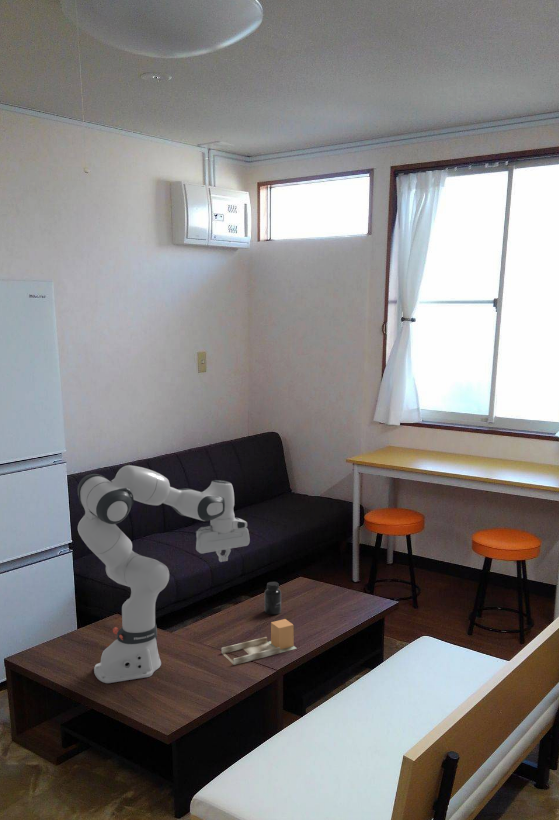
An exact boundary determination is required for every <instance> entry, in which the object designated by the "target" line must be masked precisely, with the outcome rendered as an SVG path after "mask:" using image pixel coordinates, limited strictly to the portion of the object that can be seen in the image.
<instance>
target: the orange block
mask: <svg viewBox="0 0 559 820" xmlns="http://www.w3.org/2000/svg"><path fill="white" fill-rule="evenodd" d="M294 626H295V625H294V624H293V623H292V622H290V621H289V620H287V619H286V618H283V619H279V620H276V621H271V622H270V641H271V644H273V645H274V646H275V647H276V648H277V647H280V650H281V649H284V648H288V647H292V646H295V645H294V644H295V643H294V642H295V640H294V639H295V637H294V632H295V631H294V630H295V629H294V628H295V627H294Z"/></svg>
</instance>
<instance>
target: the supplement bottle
mask: <svg viewBox="0 0 559 820" xmlns="http://www.w3.org/2000/svg"><path fill="white" fill-rule="evenodd" d="M281 612H282V590H281V589H280V584H279V583H278V582H277V581H269V582H267V583H266V589H265V590H264V613H265V614H267V615H269V616H270V615H271V616H274V615H276V616H277V615H279V614H281Z"/></svg>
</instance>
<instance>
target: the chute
mask: <svg viewBox="0 0 559 820" xmlns="http://www.w3.org/2000/svg"><path fill="white" fill-rule="evenodd" d="M297 649H298V648H297V647H296V646H295V645H294V646H292V647H288V648H284V649H281V650H280V647H277V648H276V647H275V646H274V645H273V644H271V640H269V641H268V637H267V636H264V637H259V638H255V639H252V640H248V641H244V642H239V643H237V644H236V643H235V644H232V645H227V646H223V647H221V655H223V656H224V657H225V658H226V659H227V660H228V661H229V662H230V663H231V664H232V665H233V666H236V665H240V664H244V663H247V662H251V661H254V660H259V659H263V658H266V657H270V656H271V657H272V656H274V655H277V654H278V655H279V654H281V653H285V652H290V651H292V650H297ZM240 650H243V651H244V652H246V653H247V654H245V655H242V656H238V657H235V658H233V659H232V658H230V656H228V655H227V654H229V653H231V652H235V651H240Z"/></svg>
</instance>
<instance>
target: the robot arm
mask: <svg viewBox="0 0 559 820" xmlns="http://www.w3.org/2000/svg"><path fill="white" fill-rule="evenodd" d="M77 496H78V500H79V505H80V509H81V510H82V511H84V514H83V516H82V518H81V519H80V520H79V522H78V523H77V524H78V525H77V531H78V535H79V536H80V538H81V540H82V541H83V542H84V544H85V545H86V547H87V548H88V549H89V550H90V551H91V552H92V553H93V554H94V555H95V556H96V557H97V558H98V559H99V560H100V561H101V562H102V563H103V564H104V565H105V572H106V575H107V577H108V578H110V579H111V580H112V581H113V582H115V583H117V584H118V585H122V586H126V587H128V588H130V597H129V598H127V599H126V601H124V602H123V604H122V606H121V617H122V619H121V621H122V623H121V624H122V626H121V627H120V628H118V627H117V626H115V627H113V628H112V633H113V634H114V635H116V639H115V640H114V641H113V642H112V643H110V645H109V646H107V647H106V648H104V650H103V651H102V654H101V657H100V662H99V663H96V664H95V665H94V668H93V673H94V675H95V677H96V678H97V680H98V681H100V682H102V683H105V684H111V683H117V682H118V683H119V682H125V681H129V680H130V681H131V680H136V679H143V678H151V676H153V674H154V672H156V671H157V670H158V669H159V668H160V667H161V666H162V661H161V660H162V659H160V654H159V649H158V644H157V640H158V628H157V627H158V626H157V623H156V602H157V599H158V596H159V594H160V592H162V591H163V590H164V589H165V588H166V587H167V585H168V583H169V580H170V571H169V567H168V566H167V565H166V564H164V563H163V562H161V561H159V560H157V559H154V558H152V557H148V556H144V555H141V554H138V553H137V552H135V551H134V550H133V542H132V541H131V539H130V538H129V537H128V536H127V535H126V534H125V533H124V531H122V529H120V528H119V526H118V525H117V524H120V523H121V522H122V521H124V520H125V519H126V518H127V517H128V515H129V513H130V511H131V508H133V505H134V502H135V501H136V502H139V503H142V504H145V505H150V506H160V505H162V504H164V505H167V506H170V507H171V508H172V509H173V510H174V511H175V513H177V514H179V515H180V516H183V517H188V518H192V519H195V520H199V521H202V522H209V525H208V526H201V527H199V528H198V529H197V530H196V531H195V536H196V541H195V550H196V551H197V553H199V554H206V553H212V552H215V554H216V555H217V556H218V561H219V562H220V563H222V562H228V561H229V555H230V554H231V551H232V549H236V548H241V547H247V546H249V544H250V542H251V541H250V540H251V539H250V533H249V529H248V522H247V521H246V520H244V519H242V518H239V517H235V516H236V515H235V511H234V507H235V492H234V487H233V484H232V483H231V481H227V480H220V479H219V480H218V479H215V480H211V482H210V485H209V486H208V487H207V488H206V489H204V490H203V491H199V490H195V489H192V488H186V487H183V488H178V489H177V488H175V487H173V486H171V484H170V480H169V479H168V478H167V477H166V476H164V475H163V474H161V473H159V472H157V471H155V470H152V469H149V468H146V467H142V466H137V465H131V464H129V465H124V466H122V467H121V468H119V469H118V471H117V473H116V474H115V477H114V478H113V479H112V480H109V479H108V478H106V476H104V475H102V474H99V473H98V474H97V473H90V474H87V475H85V476H83V477H82V478H81V479H80V481H79V482H78V484H77ZM222 551H225V553H224V554H223V555H222Z"/></svg>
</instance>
